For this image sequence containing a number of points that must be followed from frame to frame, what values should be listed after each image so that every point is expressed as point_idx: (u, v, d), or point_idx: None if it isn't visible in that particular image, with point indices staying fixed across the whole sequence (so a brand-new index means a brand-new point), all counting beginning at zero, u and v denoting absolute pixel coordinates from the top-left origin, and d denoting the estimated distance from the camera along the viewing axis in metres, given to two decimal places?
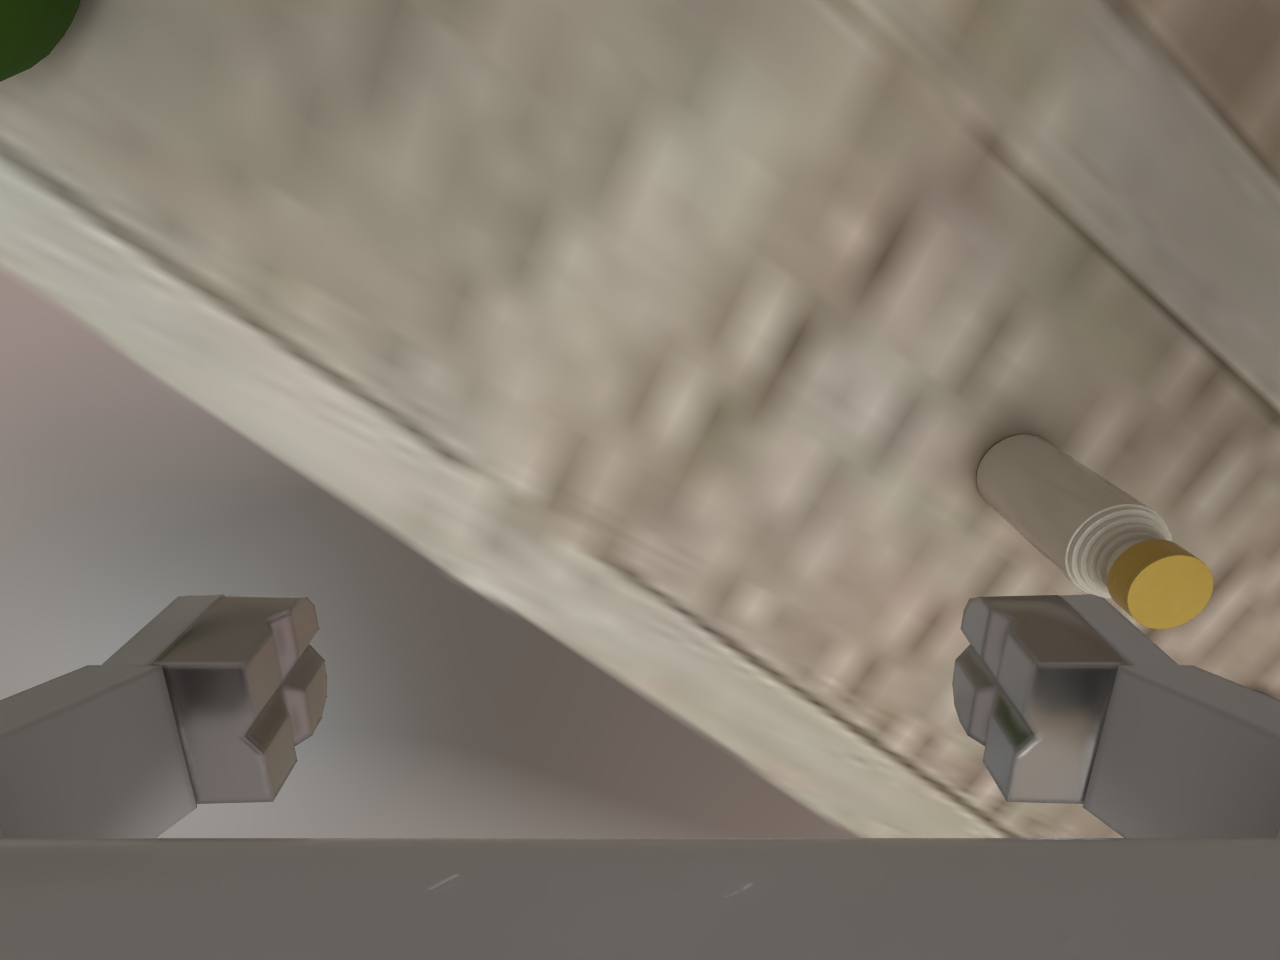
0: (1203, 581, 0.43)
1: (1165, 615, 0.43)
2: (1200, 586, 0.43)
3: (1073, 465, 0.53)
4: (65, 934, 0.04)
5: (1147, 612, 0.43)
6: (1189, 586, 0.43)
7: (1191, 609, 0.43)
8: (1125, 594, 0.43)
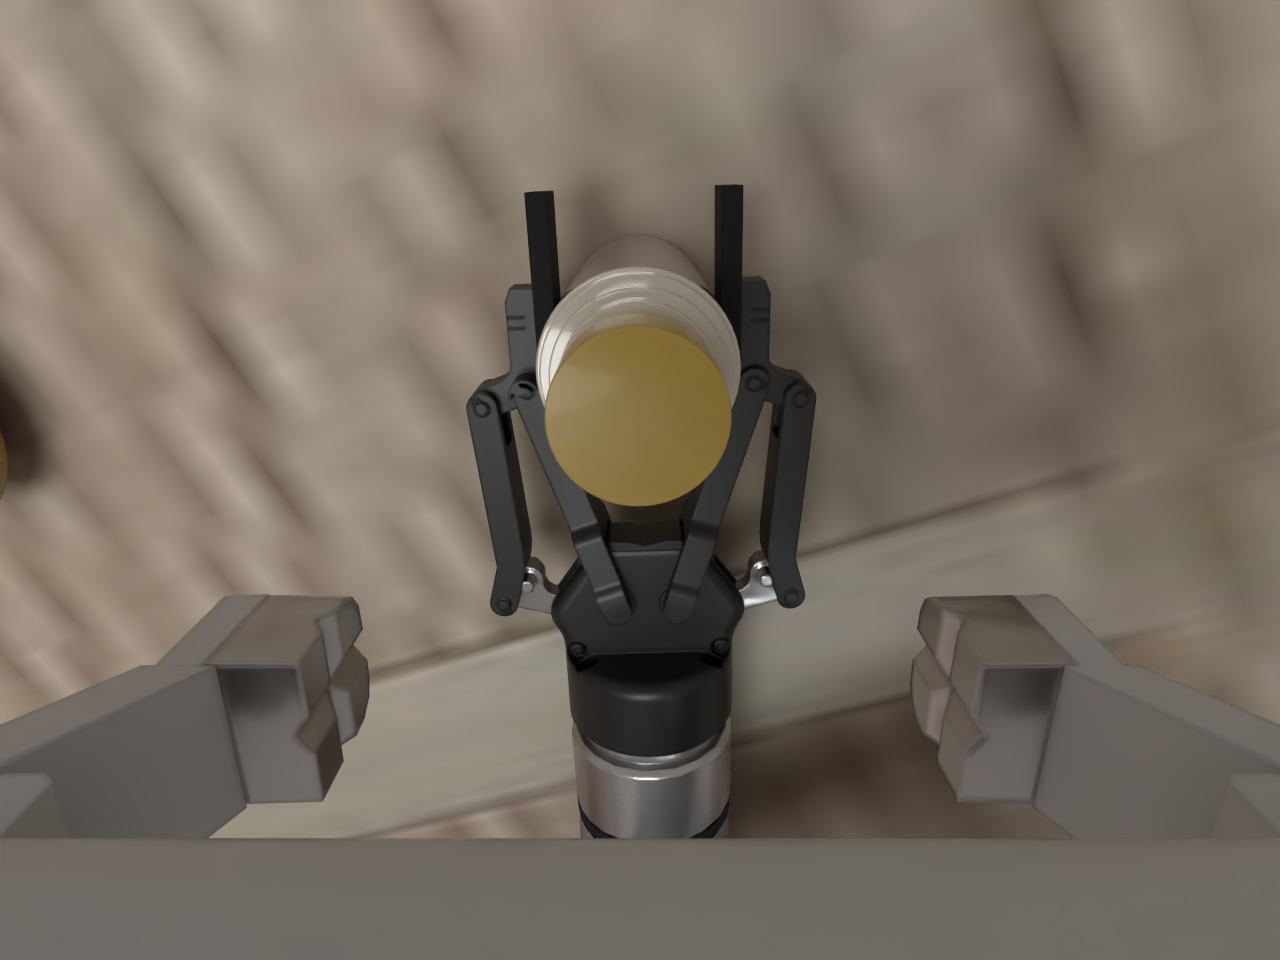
0: (624, 486, 0.20)
1: (588, 390, 0.19)
2: (615, 477, 0.20)
3: None
4: (65, 934, 0.04)
5: (619, 359, 0.19)
6: (629, 459, 0.20)
7: (571, 442, 0.19)
8: (683, 336, 0.19)
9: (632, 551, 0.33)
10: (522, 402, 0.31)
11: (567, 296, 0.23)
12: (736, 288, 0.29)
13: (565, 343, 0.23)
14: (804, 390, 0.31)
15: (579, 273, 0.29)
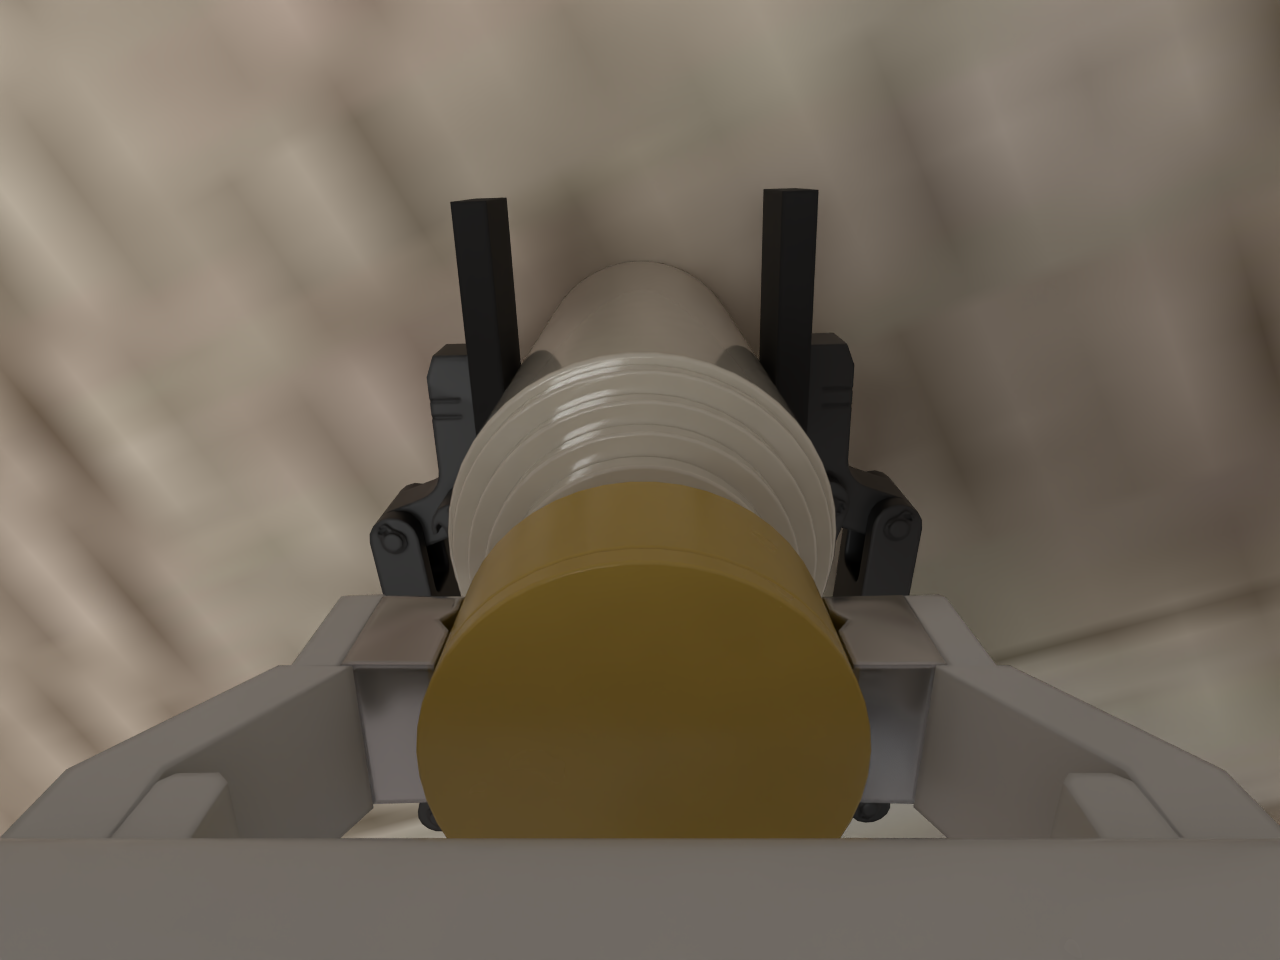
0: None
1: (520, 702, 0.08)
2: None
3: None
4: (65, 934, 0.04)
5: (596, 636, 0.07)
6: None
7: (483, 809, 0.08)
8: (759, 575, 0.07)
9: None
10: None
11: (504, 408, 0.12)
12: (801, 358, 0.18)
13: (498, 505, 0.11)
14: (904, 515, 0.19)
15: (545, 334, 0.18)
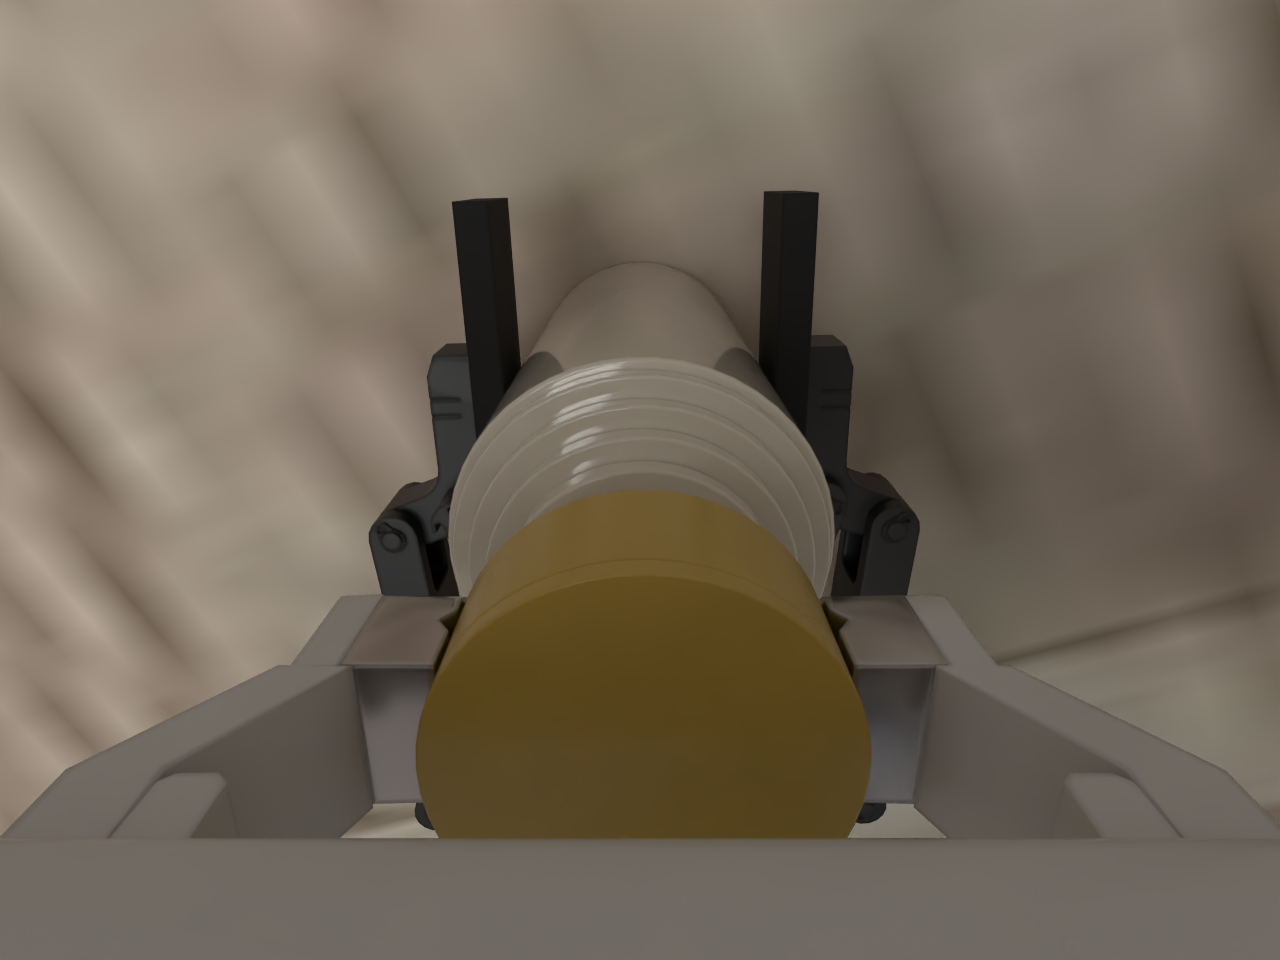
0: (799, 831, 0.08)
1: None
2: None
3: None
4: (65, 934, 0.04)
5: (488, 784, 0.08)
6: (733, 809, 0.08)
7: None
8: (467, 631, 0.08)
9: None
10: None
11: (505, 412, 0.12)
12: (801, 360, 0.18)
13: (498, 508, 0.12)
14: (902, 517, 0.19)
15: (545, 335, 0.18)
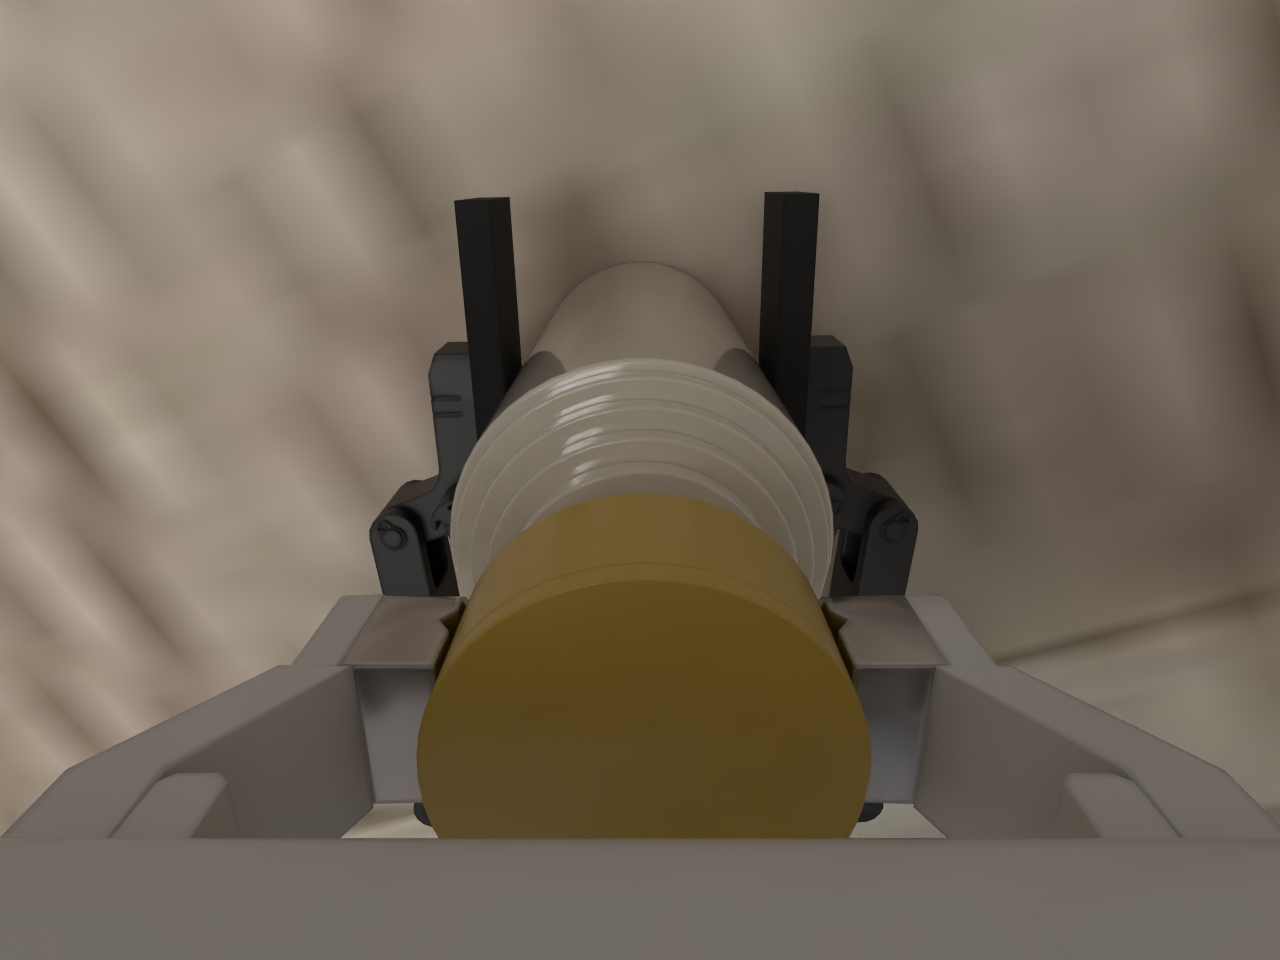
0: (756, 659, 0.07)
1: None
2: (763, 686, 0.08)
3: None
4: (65, 934, 0.04)
5: None
6: (708, 712, 0.08)
7: (814, 794, 0.08)
8: None
9: None
10: None
11: (507, 412, 0.12)
12: (801, 360, 0.18)
13: (500, 508, 0.12)
14: (900, 516, 0.19)
15: (546, 335, 0.18)
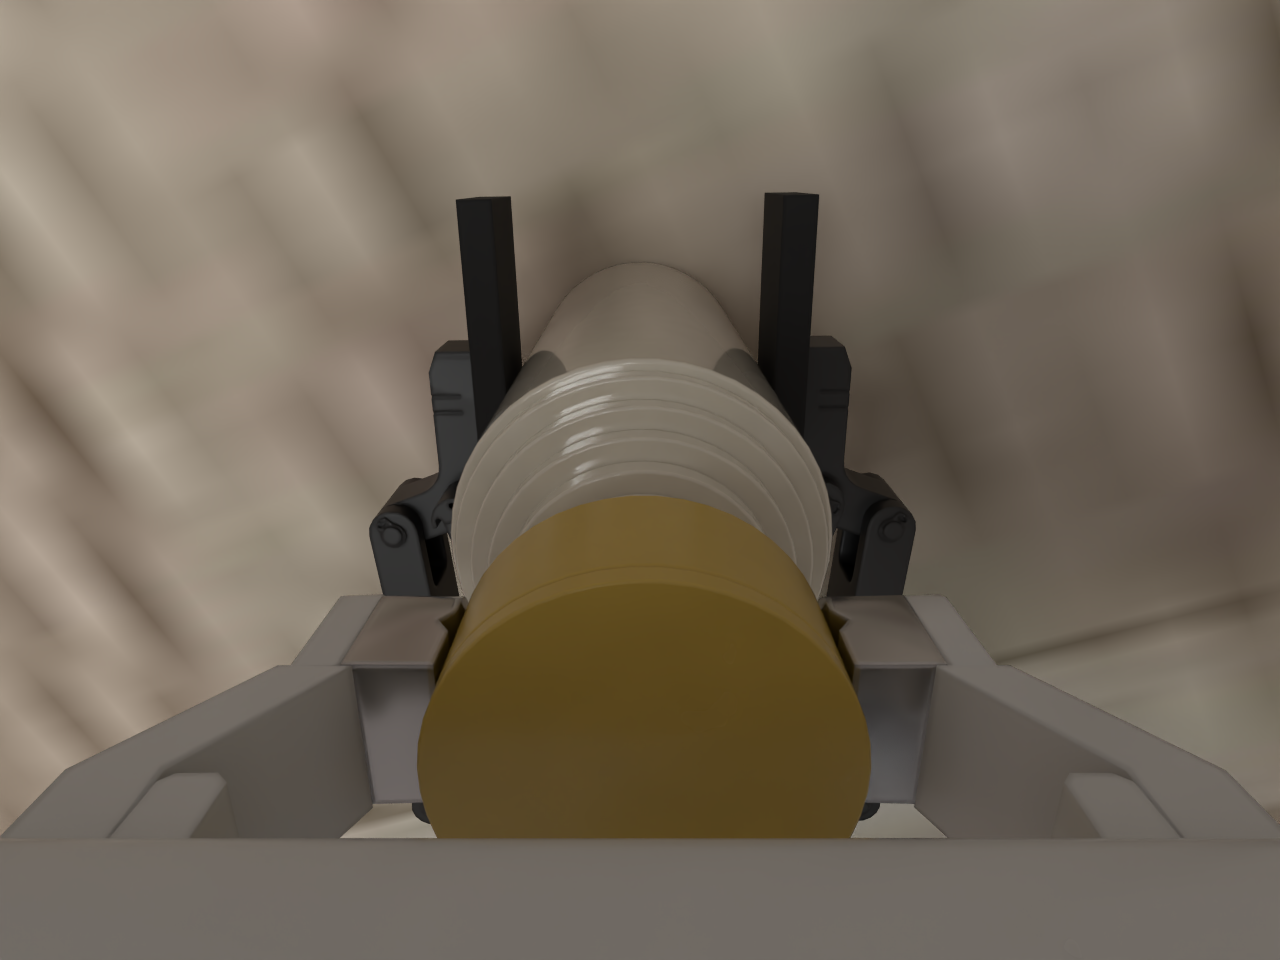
0: (522, 669, 0.07)
1: (779, 741, 0.08)
2: (556, 667, 0.07)
3: None
4: (65, 934, 0.04)
5: (784, 825, 0.08)
6: (576, 717, 0.08)
7: (705, 640, 0.07)
8: None
9: None
10: None
11: (508, 411, 0.12)
12: (800, 360, 0.18)
13: (501, 506, 0.12)
14: (898, 516, 0.20)
15: (546, 335, 0.18)
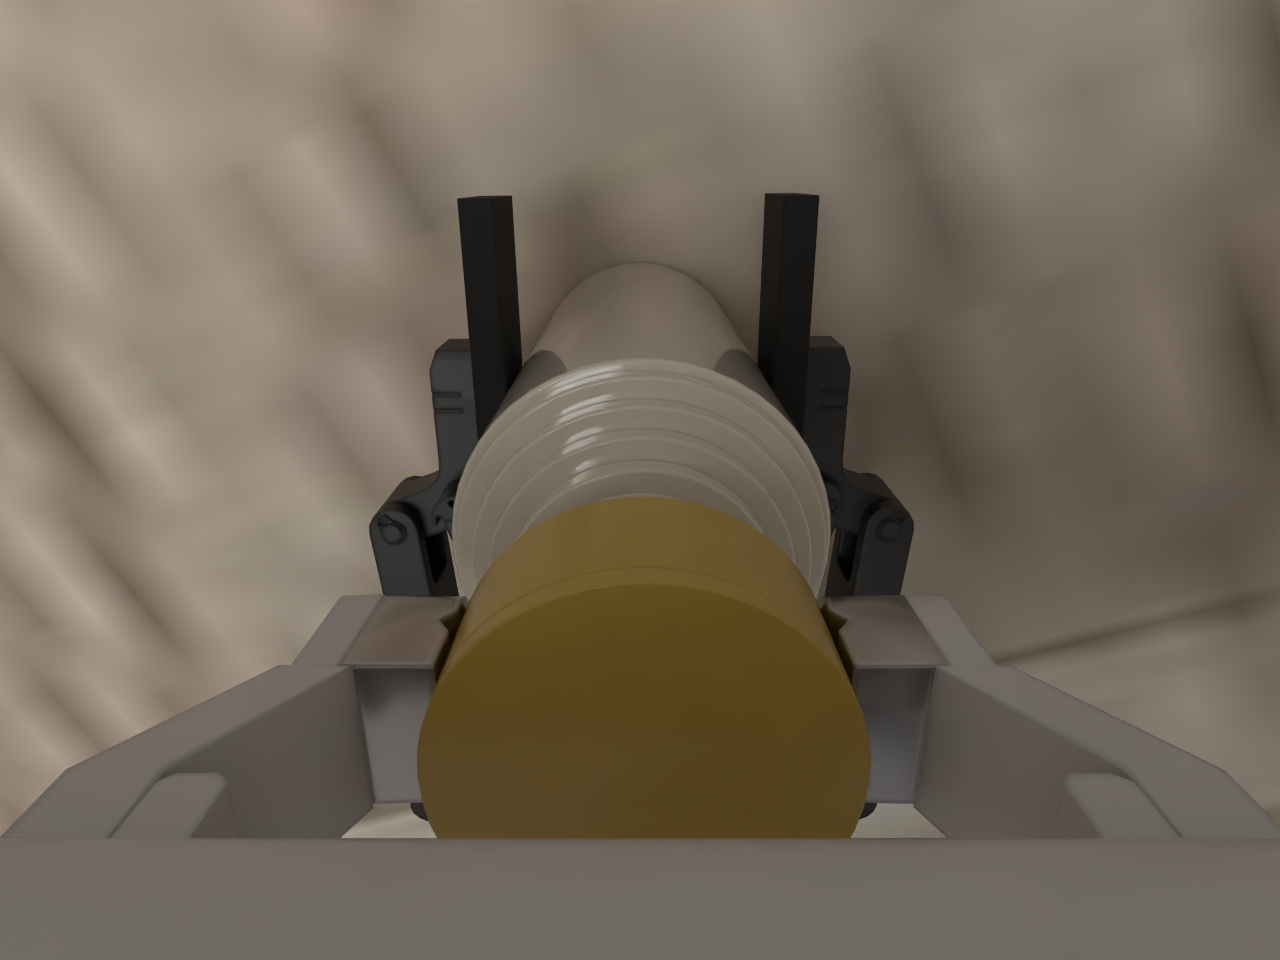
0: None
1: (624, 664, 0.07)
2: (498, 822, 0.08)
3: None
4: (65, 934, 0.04)
5: (736, 674, 0.07)
6: (555, 818, 0.08)
7: (490, 707, 0.08)
8: (862, 728, 0.08)
9: None
10: None
11: (510, 410, 0.12)
12: (799, 360, 0.18)
13: (503, 504, 0.12)
14: (896, 516, 0.20)
15: (547, 334, 0.18)
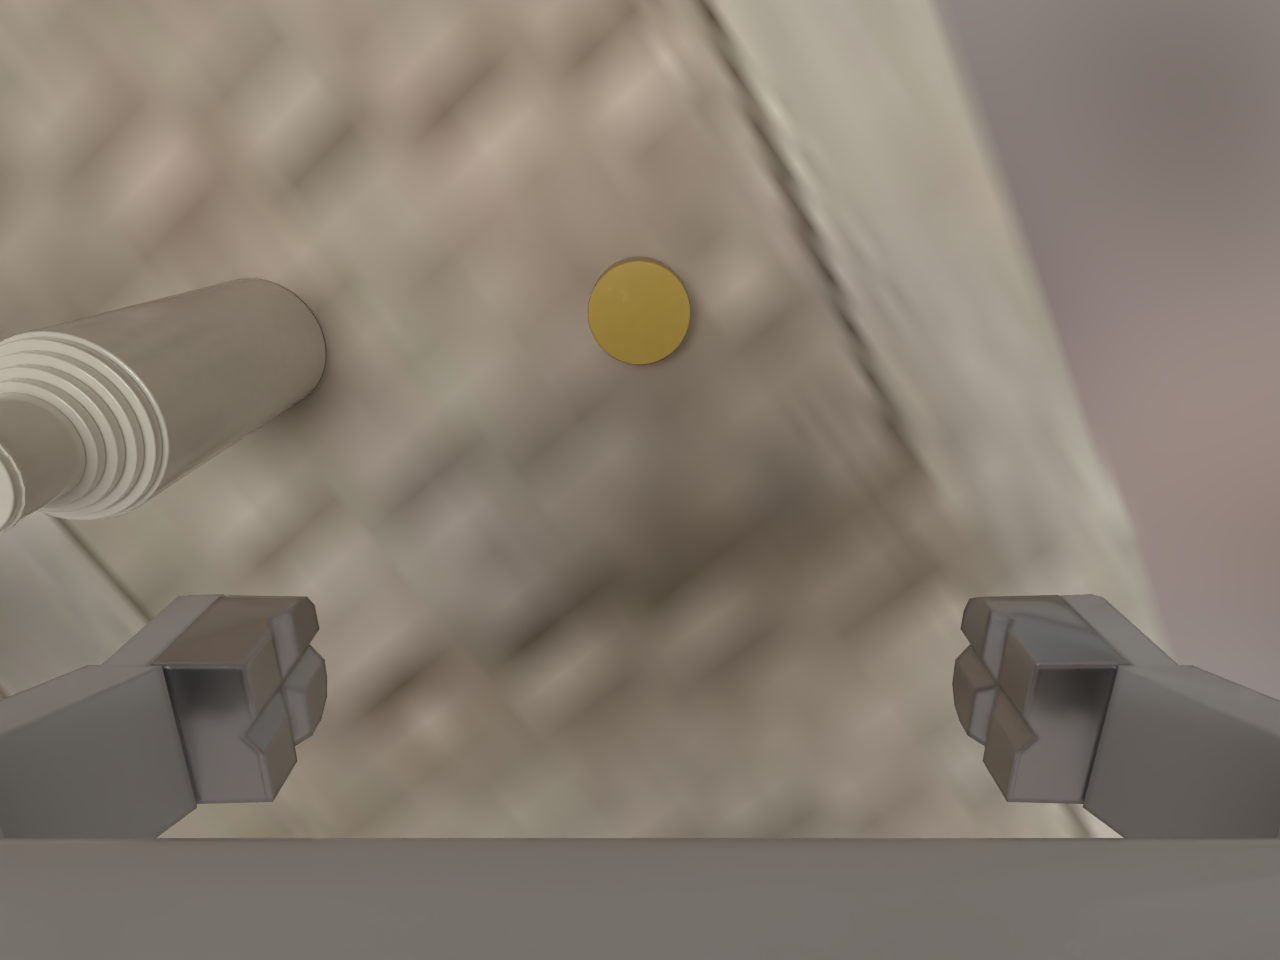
0: (604, 332, 0.35)
1: (634, 281, 0.35)
2: (605, 325, 0.35)
3: None
4: (65, 934, 0.04)
5: (658, 284, 0.35)
6: (618, 324, 0.35)
7: (605, 293, 0.35)
8: None
9: None
10: None
11: (106, 352, 0.24)
12: None
13: (50, 365, 0.23)
14: None
15: (208, 316, 0.30)
